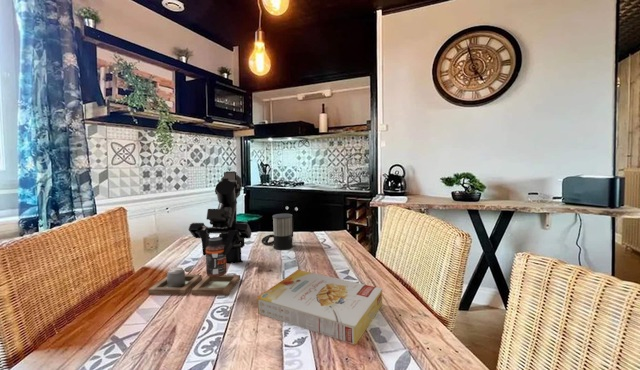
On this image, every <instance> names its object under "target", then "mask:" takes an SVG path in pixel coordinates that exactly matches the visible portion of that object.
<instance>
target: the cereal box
mask: <svg viewBox="0 0 640 370" xmlns="http://www.w3.org/2000/svg"><path fill="white" fill-rule="evenodd" d="M256 300H257V313H258V315H262V316H265V317H269V318H272V319H274V320H278V321H280V322H284V323H286V324H291V325H292V326H296V327H299V328H303V329H305V330H308V331H311V332H314V333H318V334H320V335H324V336H326V337H330V338H334V339H336V340H340V341H342V342H345V343H348V344H351V345H352V344H353V345H357V344H358V342H359V340H360V339H361V337H362V336H363V334H364V333H365V331H366V330H367V329H368V327H369V325H370V324H371V322H372V321H373V319H374V317H375V316H376V314H377V313H378V312H379V310H380V308H381V307H382V305H383V288H382V287H376V286H372V285H368V284H364V283H359V282H355V281H351V280H346V279H341V278H337V277H332V276H328V275H323V274H320V273H314V272H309V271H306V270H301V269H297V270H295V271H293V273H291V274H290V275H288V276H286V277H285V278H284V279H282V280H281V281H279V282H278V283H276V284H274V285H273V286H272V287H270V288H269V289H267V290H265V291H264V292H263V293H261V294H259V296H257V299H256Z"/></svg>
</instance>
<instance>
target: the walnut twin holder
mask: <svg viewBox="0 0 640 370" xmlns="http://www.w3.org/2000/svg"><path fill="white" fill-rule="evenodd" d="M240 281H241V275H240V274H224V275H222V276H219V277H210V276H208V275H207V274H206V276H204V278H202V274H185V286H183V287H168V284H167V275H166V276H165V277H164V278H163V279H161V280H160V281H158V282H157V283H155V284H154V285H152V286H150V287H149V288H148V289H147V290H148V295H184V296H185V295H186V294H187V293H188V292H190V291H191V296H192V295H193V296H194V295H195V296H196V295H197V296H198V295H200V296H201V295H204V296H205V295H208V296H212V295H213V296H229V295H230V293H231V292H232V291H233V290H234V289H235V287H236V286H237V284H238V283H239V282H240Z"/></svg>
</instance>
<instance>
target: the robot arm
mask: <svg viewBox="0 0 640 370" xmlns="http://www.w3.org/2000/svg"><path fill="white" fill-rule="evenodd" d="M242 186H243V184H242V177H240V176H239V175H238V174H237V171H224V172H223V176H222V177H221V180H220V181H218V183H217V184H216V186H215V188H214V191H215V195H216V197H217V202H218V207H217V208H207V212H206V220H207V221H208V220H209V224H210V225H211V226H207V225H205V224H204V222H191V224H189V227H188V231H189V232H190V234H191V235H192V236H193V237H194V238H195V239H200V240H201V245H202V246H201V247H202V249H201V250H202V255H203V256H205V257H206V247H207V246H208V245H209V239H210V238H211V236H210V234H219V236H218V237H221V238H222V241H223V242H222V243H223V244H224V245H225V248H224V253H223V255H224V256H226V264H242V263H244V260H242V248H243V247H245V239H251V236H252V230H251V228H250V225H249V224H248V222H237V218H238V216H237V211H238V209H237V205H238V198H239V196H240V195H241V191H242V189H243V187H242Z"/></svg>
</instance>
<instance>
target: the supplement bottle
mask: <svg viewBox="0 0 640 370" xmlns="http://www.w3.org/2000/svg"><path fill="white" fill-rule="evenodd" d="M222 242H223V241H222V238H221V237H219V236H213V237H210V239H209V245H208V246H207V247H206V255H205V269H206V276H207V275H208V276H210V277H219V276H222V275H226V273H227V267H228V266H227V263H226V256H224V255H223V253H224V248H225V245H224V244H223V243H222Z"/></svg>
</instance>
